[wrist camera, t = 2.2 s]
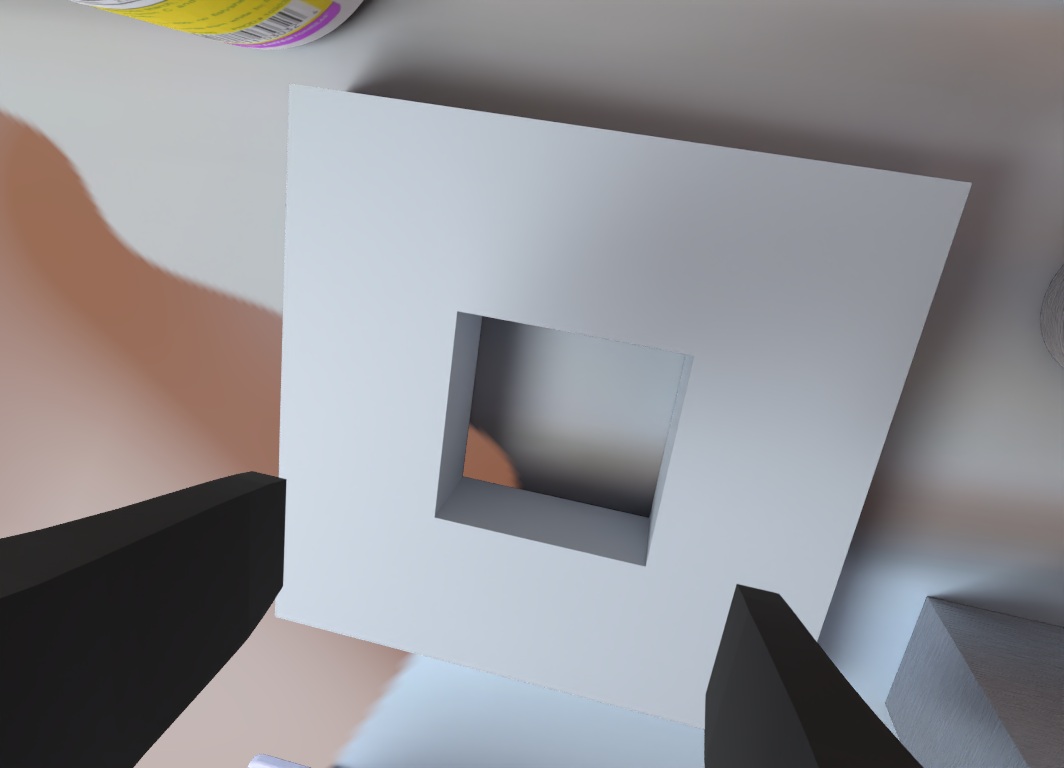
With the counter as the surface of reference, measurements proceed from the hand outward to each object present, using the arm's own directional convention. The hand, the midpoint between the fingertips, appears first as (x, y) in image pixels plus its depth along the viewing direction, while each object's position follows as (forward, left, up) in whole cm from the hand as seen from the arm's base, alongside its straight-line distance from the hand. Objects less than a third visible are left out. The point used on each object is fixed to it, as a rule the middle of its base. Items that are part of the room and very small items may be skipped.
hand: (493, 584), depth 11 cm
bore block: (0, 0, -8) cm, 8 cm away
